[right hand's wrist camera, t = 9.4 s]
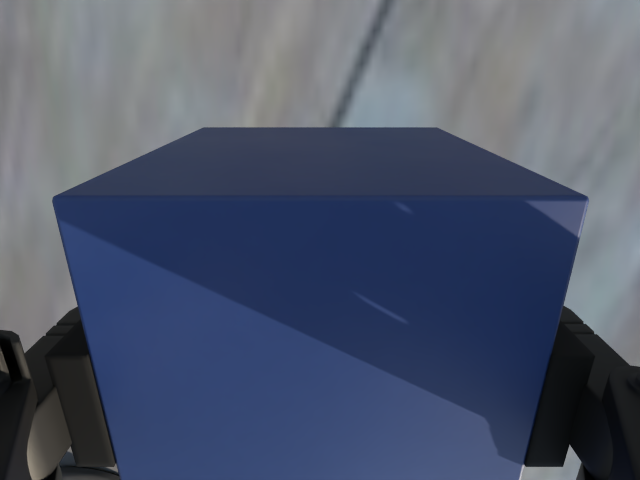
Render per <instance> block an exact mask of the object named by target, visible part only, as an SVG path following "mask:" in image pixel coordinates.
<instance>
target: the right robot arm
mask: <svg viewBox="0 0 640 480" xmlns="http://www.w3.org/2000/svg"><path fill="white" fill-rule="evenodd" d="M569 444H570V445H571V447H572V448H573V450H574V451H575V453H576V454H577V456H578V457H579V459H580V460H581V462H582V463H581V466H580V469H579V472H578V475H577V478H576V480H640V367H637V366H630V365H629V364H628V363H627V362H626V361H625V360H624V359H622V358H621V357H620V356H619V355H618V354H617V353H616V352H615V351H614V350H613V349H612V348H611V347H610V346H609V345H608V344H607V343H605V342H604V341H603V340H602V339H601V338H600V337H599V336H598V335H597V334H594V331H593V330H592V329H591V328H590V327H588V326H587V325H586V324H583V321H582V320H581V319H580V318H579V317H578V316H577V315H576V314H575V313H574V312H573V311H571V310H570V309H569V308H567V307H565V306H563V309H562V313H561V317H560V321H559V325H558V329H557V333H556V337H555V341H554V345H553V349H552V353H551V358H550V362H549V366H548V370H547V374H546V378H545V382H544V386H543V390H542V394H541V398H540V402H539V406H538V411H537V415H536V419H535V423H534V427H533V431H532V435H531V439H530V443H529V447H528V451H527V455H526V459H525V463H524V464H525V466H526V467H563V465H564V461H565V458H566V454H567V451H568V448H569ZM70 446H71V449H72V452H73V456H74V459H75V462H76V466H77V467H60V466H59V462H60V461H61V459H62V458H63V456H64V455H65V453H66V452H67V450H68V449H69V447H70ZM115 464H116V460H115V456H114V452H113V448H112V444H111V440H110V436H109V432H108V427H107V423H106V419H105V415H104V411H103V407H102V403H101V399H100V395H99V391H98V387H97V382H96V378H95V374H94V370H93V366H92V362H91V358H90V354H89V350H88V346H87V341H86V337H85V333H84V329H83V325H82V321H81V317H80V313H79V309H78V307H76V308H74V309H72V310H71V311H69V312H68V313H67V314H66V315H65V316H64V317H63V318H62V319H61V320H60V321H58V322H57V325H56V326H53V327H52V328H51V329H50V330H49V331H48V332H47V333H46V336H43V337H42V338H41V339H40V340H38V341H37V342H36V343H35V344H34V345H33V346H32V347H31V348H30V349H29V350H28V351H27V352H26V353H25V354H24V351H23V348H22V344H21V341H20V338H19V335H17V334H16V333H14V332H12V331H5V330H0V480H120V477H119V476H116V475H114V474H111V473H107V472H104V471H100V470H95V469H89V468H81V467H114V466H115Z"/></svg>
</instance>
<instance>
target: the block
mask: <svg viewBox="0 0 640 480" xmlns="http://www.w3.org/2000/svg"><path fill="white" fill-rule="evenodd" d="M52 202H53V206H54V210H55V215H56V219H57V223H58V227H59V231H60V235H61V239H62V243H63V247H64V251H65V256H66V260H67V264H68V268H69V272H70V276H71V280H72V284H73V288H74V292H75V296H76V301H77V305H78V309H79V313H80V317H81V321H82V325H83V329H84V333H85V337H86V341H87V346H88V350H89V354H90V358H91V362H92V366H93V370H94V374H95V378H96V382H97V387H98V391H99V395H100V399H101V403H102V407H103V411H104V415H105V419H106V423H107V427H108V432H109V436H110V440H111V444H112V448H113V452H114V456H115V460H116V464H117V468H118V472H119V477H120V480H521V476H522V472H523V468H524V463H525V459H526V455H527V451H528V447H529V443H530V439H531V435H532V431H533V427H534V423H535V419H536V415H537V411H538V406H539V402H540V398H541V394H542V390H543V386H544V382H545V378H546V374H547V370H548V366H549V362H550V358H551V353H552V349H553V345H554V341H555V337H556V333H557V329H558V325H559V321H560V317H561V313H562V309H563V305H564V300H565V296H566V292H567V288H568V284H569V280H570V276H571V272H572V268H573V264H574V260H575V256H576V252H577V247H578V243H579V239H580V235H581V231H582V227H583V223H584V219H585V215H586V211H587V207H588V203H589V199H588V197H587V196H585V195H583V194H581V193H578V192H576V191H574V190H572V189H570V188H568V187H565V186H563V185H561V184H559V183H557V182H554V181H552V180H550V179H548V178H546V177H544V176H541V175H539V174H537V173H535V172H533V171H530V170H528V169H526V168H524V167H522V166H520V165H517V164H515V163H513V162H511V161H509V160H506V159H504V158H502V157H500V156H498V155H496V154H493V153H491V152H489V151H487V150H485V149H483V148H480V147H478V146H476V145H474V144H472V143H469V142H467V141H465V140H463V139H461V138H459V137H456V136H454V135H452V134H450V133H448V132H445V131H443V130H441V129H439V128H201V129H199V130H197V131H195V132H193V133H191V134H188V135H186V136H184V137H182V138H180V139H178V140H175V141H173V142H171V143H169V144H167V145H165V146H162V147H160V148H158V149H156V150H154V151H152V152H149V153H147V154H145V155H143V156H141V157H139V158H136V159H134V160H132V161H130V162H128V163H126V164H123V165H121V166H119V167H117V168H115V169H112V170H110V171H108V172H106V173H104V174H102V175H99V176H97V177H95V178H93V179H91V180H89V181H86V182H84V183H82V184H80V185H78V186H76V187H73V188H71V189H69V190H67V191H65V192H63V193H60V194H58V195H56V196H54V197H53V200H52Z"/></svg>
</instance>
